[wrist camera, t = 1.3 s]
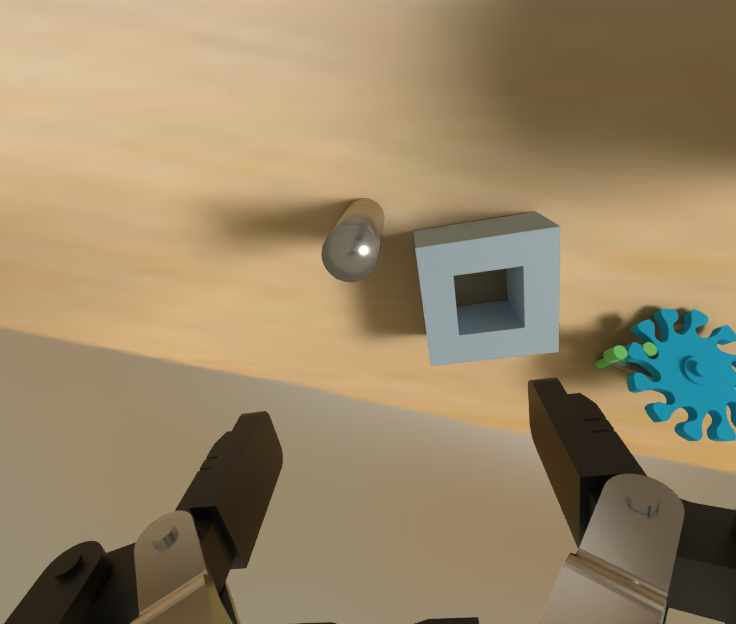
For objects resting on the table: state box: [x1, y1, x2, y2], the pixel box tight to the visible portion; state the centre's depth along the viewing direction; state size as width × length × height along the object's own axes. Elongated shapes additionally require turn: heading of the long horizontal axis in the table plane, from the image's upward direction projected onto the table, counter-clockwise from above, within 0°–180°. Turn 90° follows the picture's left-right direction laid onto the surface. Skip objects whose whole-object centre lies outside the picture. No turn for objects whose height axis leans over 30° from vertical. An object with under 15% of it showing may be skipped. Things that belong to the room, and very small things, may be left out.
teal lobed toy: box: [595, 309, 736, 441], centre depth 32 cm, size 11×6×10 cm
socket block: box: [413, 212, 560, 366], centre depth 30 cm, size 9×9×5 cm
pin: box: [322, 198, 384, 282], centre depth 26 cm, size 3×3×10 cm
